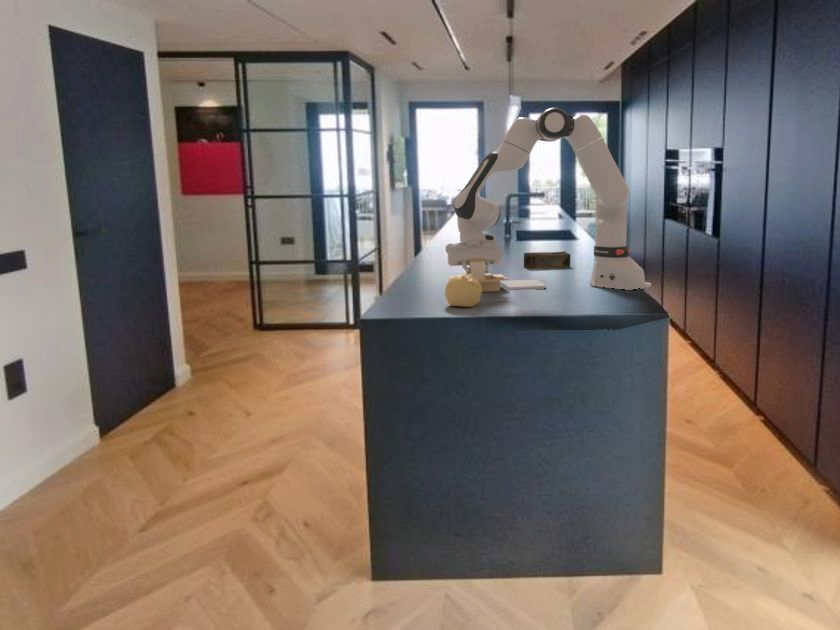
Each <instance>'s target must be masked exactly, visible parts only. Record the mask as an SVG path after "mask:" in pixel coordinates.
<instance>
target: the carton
mask: <svg viewBox="0 0 840 630" xmlns="http://www.w3.org/2000/svg"><path fill="white" fill-rule="evenodd" d="M457 275H458V274H455V275H452V276H449V275H448V276H447V278H448V279H449V280H450V279H451V278H453V277H454V276H457ZM500 281H509V278H507V277H506V276H504V275H503V274H500V273H499V274H491V273H490V272H488V273H485V280H478V282H479V283H481V287H482V292H481V293H483V292H500V290H501V288H500V287H501V283H500Z"/></svg>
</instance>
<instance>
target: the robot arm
mask: <svg viewBox="0 0 840 630" xmlns="http://www.w3.org/2000/svg"><path fill="white" fill-rule="evenodd" d="M561 138H562V139H565V140H567V142H568V143H569V145H570V146H571V148H572V150H573V152H574V155H575V156H576V158H577V161H578V163H579V164H580V166H581V169H582V170H583V172H584V174H585V176H586V178H587V180H588V182H589V184H590V186H591V188H592V190H593V192H594V194H595V236H594V237H595V241H594V244H595V245H594V246H593V257H594V259H593V260H594V261H593V268H592V273H591V278H590V280H589V284H590V286H591V287H595V286H597V287H598V288H603V287H605V289H612V288H614V289H613V290H621V289H625V290H624V291H634V290H633V289H637V290H642V289H647V288H650V287H651V286H652V283H651V282H647V281H646V280H645V277H646V276H645V271H644V269H643V268H642V267H641V266H640V265H639V264H638V263H637V261H635V260H633V258H632V257H631V254H630V253H632V252H633V251H632V250H633V249H632V248H628V245H627V226H628V223H627V221H628V220H627V201H628V199H629V196H630V189H629V187H628V184H627V182H626V180H625V179H624V177H623V175H622V173H621V171H620V169H619V167H618V165H617V163H616V161H615V160H614V158H613V156H612V154H611V152H610V149H609V148H608V145H607V144H606V142H605V139H604V137H603V135H602V133H601V131H600V130H599V129H598V127H597V125H596V124H595V122H594V120H592V118H591V117H590V116H589V115H587V114H578V115H575V116H572V115H571V114H569V113H568V112H566V111H565V110H563V109H561V108H558V107H550V108H547V109H545V110H544V111H543V112H542V113H541V114H539V116H538V117H537V118H536V119H531V118H529V117H525V116H524V117H523V116H521V117H518V118H516V119H515V120H514V122H513V123H512V124H511V125H510V127H509V129H508V131H507V132H506V134H505V135H504V137H503V139H502V142H501V143H500V145H499V146H498V147H497V148H496V149H495V150H494V151H493V152H490V153H488V154H487V155H486V156H485V157H484V158H483V160H482V161H481V162H480V164H479V166H478V167H477V169H475V171H474V173H473V174H472V176H471V177H470V178H469V181H468V182H467V184H465V186H464V187H463V189H462V190H461V191H460V192H459V193H458V194H457V196H456V197H455V199H454V201H453V210H454V212H455V215H456V217H457V228H458V229H457V230H458V232H459V241H460V242H456V243H453V242H451V243H448V244H447V245H446V246H444V247H445V252H446V254H447V264H448V265H449V266H451V267H459V266H461V268H462V269H464V270H465V274H471V268H469V258H484V259H485V261H486V262H485V274H488V273H489V269H490V266H491V265H500V264H502V262H503V259H504V255H503V254H504V253H503V251H502V248H501V245H500V244H499V243H498V242H497V236H496V235H491V234H486V233H484V232H485V231H489V230H490V229H492V228H493V227H494V226H496V225H497V224H498V223H499V221H500V218H501V208H500V205H499V204H497V203H496V202H494V201H491V199H487V198H485V197H483V196H480V195H479V193H480V192H481V190H482V188H483V187H484V186H485V184H486V183H487V181H488V179H489V178H490V177H491V176H492V175H493V174H495V173H499V172H509V173H510V172H514V171H515V172H516V171H517V170H520V169H522V168H523V167H524V166H525V164H526V163H527V161H528V159H529V157H530V155H531V153H532V151H533V149H534V147H535V145H536V144H537V142H538V141H543V142H555V141H558V140H561ZM638 288H640V289H638Z"/></svg>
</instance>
